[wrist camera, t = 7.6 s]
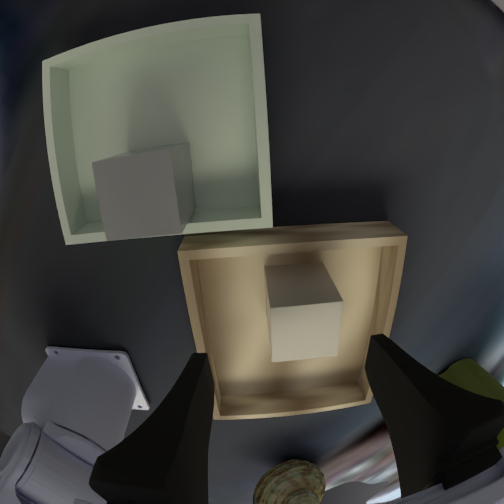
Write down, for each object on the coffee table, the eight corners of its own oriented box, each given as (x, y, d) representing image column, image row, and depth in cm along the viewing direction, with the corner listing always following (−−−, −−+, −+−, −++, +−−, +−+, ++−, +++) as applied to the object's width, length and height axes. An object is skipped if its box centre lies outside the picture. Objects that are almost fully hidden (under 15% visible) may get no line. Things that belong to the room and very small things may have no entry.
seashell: (235, 478, 35) (236, 537, 26) (268, 445, 31) (274, 518, 22) (299, 484, 37) (307, 537, 28) (341, 452, 33) (356, 514, 23)
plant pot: (410, 423, 31) (438, 490, 21) (408, 372, 27) (451, 457, 16) (482, 383, 30) (519, 439, 19) (493, 323, 25) (548, 387, 15)
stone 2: (266, 315, 22) (271, 362, 18) (263, 266, 21) (270, 307, 16) (319, 310, 22) (336, 355, 18) (322, 261, 21) (343, 301, 16)
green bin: (85, 229, 20) (66, 245, 17) (66, 66, 15) (42, 61, 12) (268, 212, 20) (272, 227, 17) (257, 29, 15) (259, 13, 12)
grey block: (136, 212, 19) (106, 240, 14) (127, 151, 17) (91, 162, 13) (196, 205, 19) (181, 233, 14) (189, 142, 17) (170, 148, 13)
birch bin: (215, 395, 26) (214, 419, 24) (185, 233, 20) (177, 251, 17) (361, 380, 27) (370, 402, 24) (387, 220, 20) (407, 235, 17)
